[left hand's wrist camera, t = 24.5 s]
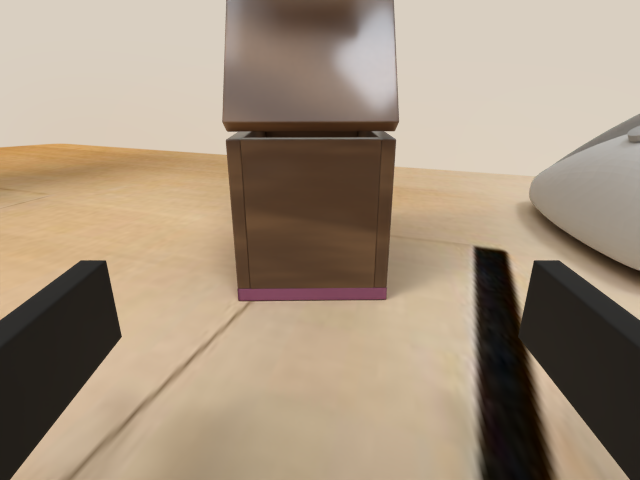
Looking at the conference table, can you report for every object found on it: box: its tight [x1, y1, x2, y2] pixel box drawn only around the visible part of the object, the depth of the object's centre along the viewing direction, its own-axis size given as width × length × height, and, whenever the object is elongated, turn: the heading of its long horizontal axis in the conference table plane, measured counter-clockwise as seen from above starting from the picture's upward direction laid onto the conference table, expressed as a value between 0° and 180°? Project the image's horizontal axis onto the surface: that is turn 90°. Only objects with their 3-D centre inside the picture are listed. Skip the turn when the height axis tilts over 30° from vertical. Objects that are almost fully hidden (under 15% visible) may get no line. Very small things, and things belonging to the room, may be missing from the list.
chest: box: [226, 131, 396, 301], centre depth 30 cm, size 13×9×10 cm
